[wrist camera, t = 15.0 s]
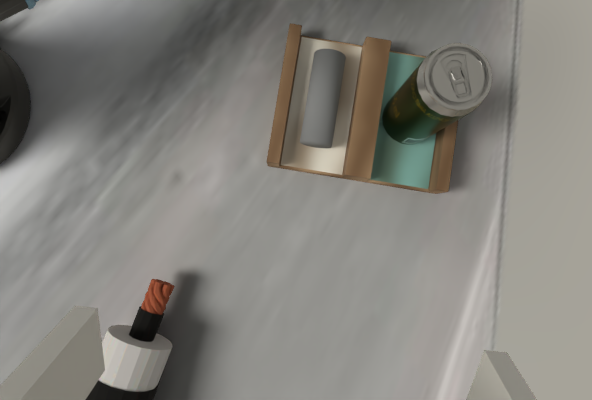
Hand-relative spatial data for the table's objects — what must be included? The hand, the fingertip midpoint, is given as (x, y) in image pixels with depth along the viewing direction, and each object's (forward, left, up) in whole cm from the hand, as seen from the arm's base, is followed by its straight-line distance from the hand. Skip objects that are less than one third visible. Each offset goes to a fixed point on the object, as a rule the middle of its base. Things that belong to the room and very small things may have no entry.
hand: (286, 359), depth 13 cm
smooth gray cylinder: (-12, +12, -25) cm, 30 cm away
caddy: (-10, +15, -26) cm, 32 cm away
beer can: (-7, +18, -25) cm, 32 cm away
